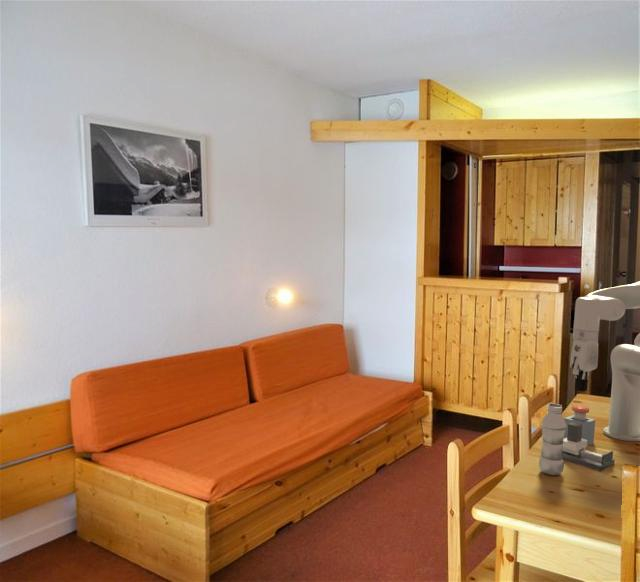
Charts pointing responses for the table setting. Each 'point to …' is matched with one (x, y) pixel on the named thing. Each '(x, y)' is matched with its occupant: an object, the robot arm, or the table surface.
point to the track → (591, 459)
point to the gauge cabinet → (583, 428)
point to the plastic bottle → (552, 441)
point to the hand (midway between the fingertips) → (580, 390)
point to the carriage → (574, 439)
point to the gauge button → (580, 412)
